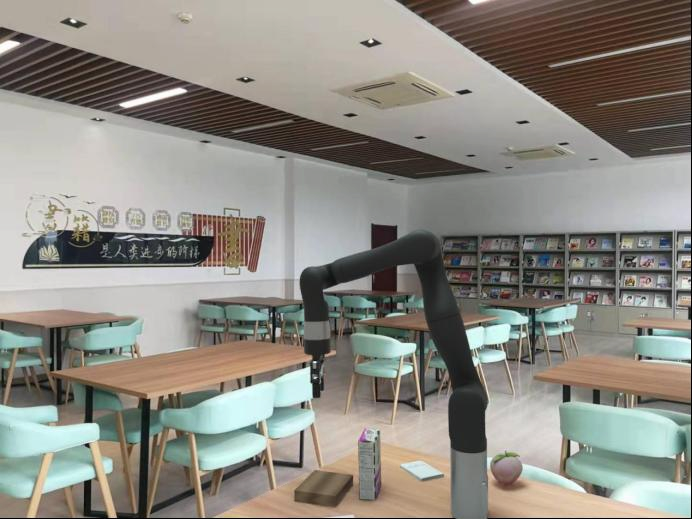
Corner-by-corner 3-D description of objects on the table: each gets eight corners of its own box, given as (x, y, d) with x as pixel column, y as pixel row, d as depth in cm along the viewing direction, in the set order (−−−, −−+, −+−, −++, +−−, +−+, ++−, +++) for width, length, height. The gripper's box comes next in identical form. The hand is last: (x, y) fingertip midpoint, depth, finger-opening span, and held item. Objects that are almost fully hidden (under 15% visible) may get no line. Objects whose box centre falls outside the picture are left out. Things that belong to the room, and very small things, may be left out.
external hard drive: (421, 483, 160) (399, 469, 171) (444, 478, 163) (421, 464, 174) (421, 478, 160) (399, 463, 171) (444, 473, 163) (421, 459, 174)
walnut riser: (353, 485, 157) (353, 474, 157) (335, 507, 143) (335, 496, 143) (315, 479, 161) (315, 469, 161) (294, 501, 147) (294, 490, 147)
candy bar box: (364, 483, 159) (364, 427, 159) (381, 484, 158) (381, 428, 158) (357, 500, 148) (357, 440, 148) (375, 501, 147) (375, 441, 147)
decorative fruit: (506, 476, 163) (505, 443, 163) (527, 486, 156) (527, 451, 156) (483, 483, 158) (482, 449, 158) (504, 493, 151) (504, 457, 151)
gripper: (327, 340, 145) (329, 400, 145) (332, 333, 160) (334, 388, 159) (299, 340, 146) (301, 400, 146) (307, 333, 160) (308, 388, 160)
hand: (318, 394), depth 153 cm, fingers open, 8 cm apart
